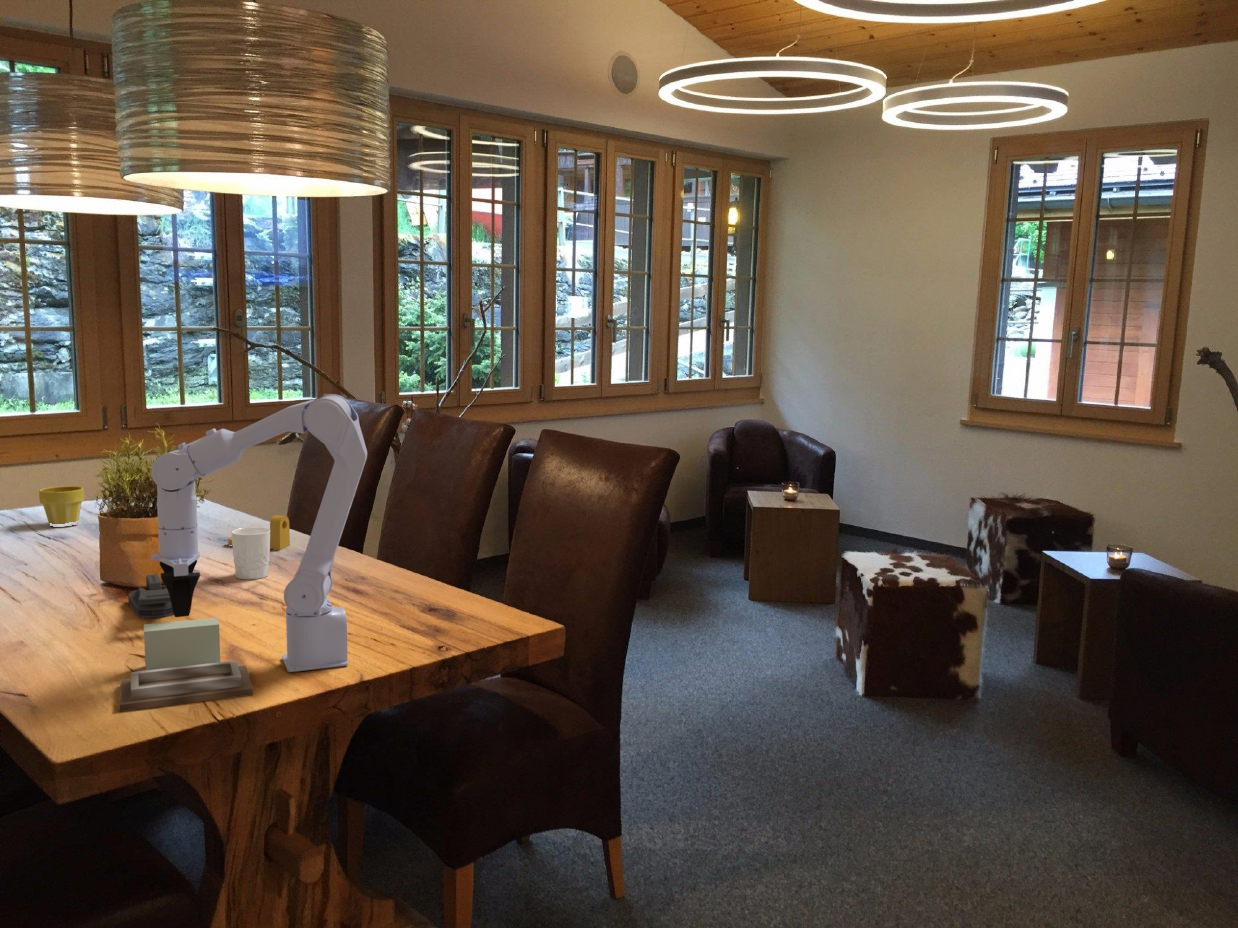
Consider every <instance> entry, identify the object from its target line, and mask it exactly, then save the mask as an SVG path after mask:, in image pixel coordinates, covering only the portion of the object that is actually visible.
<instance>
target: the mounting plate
mask: <svg viewBox="0 0 1238 928" xmlns="http://www.w3.org/2000/svg"><path fill="white" fill-rule="evenodd" d="M119 683H120V686H119V687H120V688H119V712H125V711H126V712H127V711H134V710H135V711H136V710H141V709H142V710H144V709H151V708H158V707H167V706H174V705H182V704H191V703H198V702H206V701H214V700H215V701H216V700H222V699H232V698H239V697H245V696H246V697H247V696H253V695H254V688H253V684H252V681H251V678H250V674H249V670H248V667H247V665H238V661H237V660H229V661H228V660H227V661H220V662H217V663H208V664H199V665H190V666H182V667H173V668H164V669H155V670H146V669H145V670H138V671H130V678H125V679H120V682H119Z"/></svg>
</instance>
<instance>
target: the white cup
mask: <svg viewBox="0 0 1238 928" xmlns="http://www.w3.org/2000/svg"><path fill="white" fill-rule="evenodd" d="M231 537H232V546H233V547H232V555H233V564H234V575H235V578H236V579H240V580H249V581H250V580H258V579H264V578H266V577H268V576H269V570H270V569H269V564H270V554H271V550H270V528H267V527H261V526H258V527H256V526H255V527H253V526H252V527H243V528H242V527H241V528H236V529H233V530H232V531H231Z"/></svg>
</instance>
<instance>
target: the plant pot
mask: <svg viewBox="0 0 1238 928" xmlns="http://www.w3.org/2000/svg"><path fill="white" fill-rule="evenodd" d="M38 497H39V503H40V504H42V506H43V509H44V512H45V515H46V519H47V522H48V524H49V523H52V524H65V523H69V522H76V521H78V520H80V514H81V508H82V502H83V501H84V500H85V490H84V487H83V486H80V485H79V486H78V485H61V486H60V485H59V486H50V487H44V488H41V489H39V491H38Z"/></svg>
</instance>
